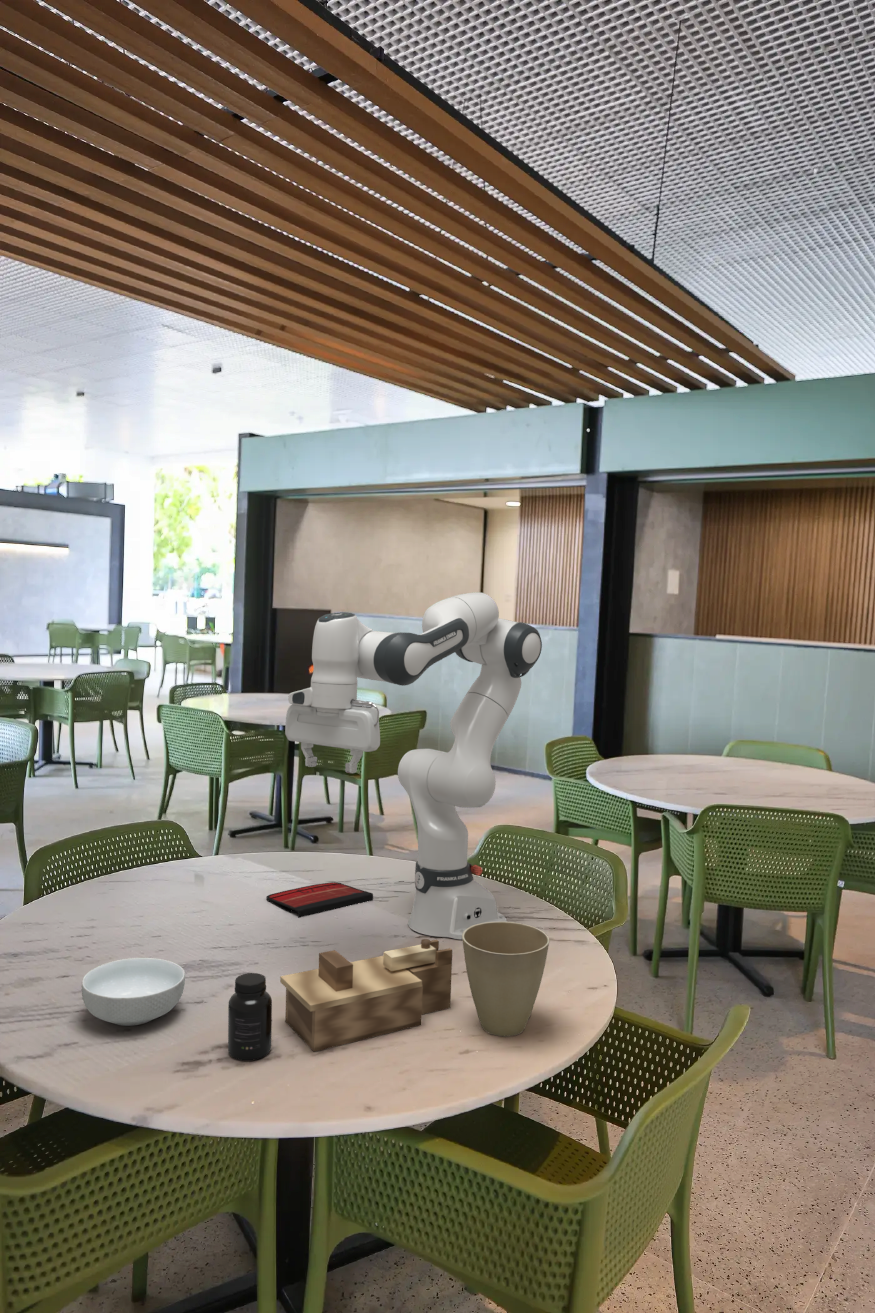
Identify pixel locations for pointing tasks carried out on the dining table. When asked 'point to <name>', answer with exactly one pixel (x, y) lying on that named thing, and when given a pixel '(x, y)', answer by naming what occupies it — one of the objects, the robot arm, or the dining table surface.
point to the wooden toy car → (409, 956)
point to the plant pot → (504, 973)
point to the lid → (346, 981)
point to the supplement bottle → (249, 1018)
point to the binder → (318, 898)
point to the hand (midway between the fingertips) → (330, 769)
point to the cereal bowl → (133, 990)
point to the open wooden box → (375, 1009)
